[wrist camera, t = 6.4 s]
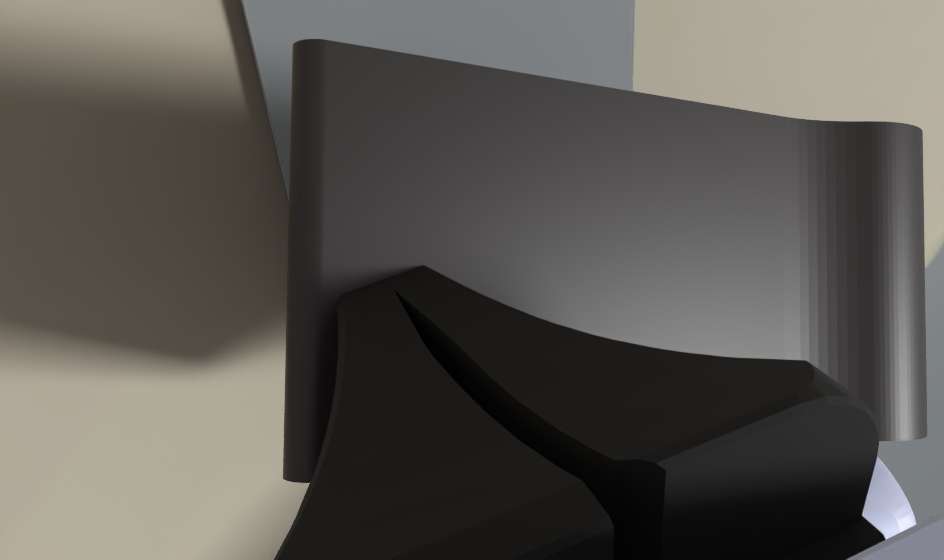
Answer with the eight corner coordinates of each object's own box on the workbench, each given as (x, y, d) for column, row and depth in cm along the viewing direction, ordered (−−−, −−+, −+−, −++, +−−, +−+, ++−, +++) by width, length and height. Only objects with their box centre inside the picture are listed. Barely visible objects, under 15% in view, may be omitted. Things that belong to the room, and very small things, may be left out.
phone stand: (337, 165, 19) (791, 179, 21) (332, 406, 19) (793, 406, 20) (289, 32, 10) (1099, 71, 12) (279, 483, 10) (1113, 474, 11)
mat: (631, -283, 17) (641, -285, 17) (621, 274, 25) (628, 280, 25) (180, -248, 15) (182, -249, 14) (329, 369, 23) (332, 377, 22)
